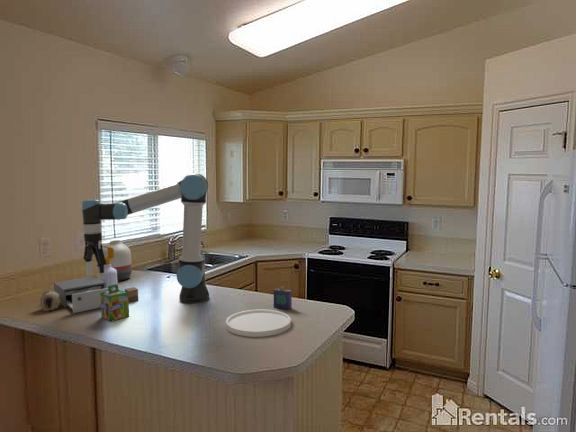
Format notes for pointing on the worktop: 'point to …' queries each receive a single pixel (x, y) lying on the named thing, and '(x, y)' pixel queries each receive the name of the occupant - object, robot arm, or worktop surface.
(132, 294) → the block
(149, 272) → the worktop surface
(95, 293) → the grey drawer
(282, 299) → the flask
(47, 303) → the garlic bulb
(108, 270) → the soap bottle
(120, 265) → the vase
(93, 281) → the housing
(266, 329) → the plate
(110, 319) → the chalk box
